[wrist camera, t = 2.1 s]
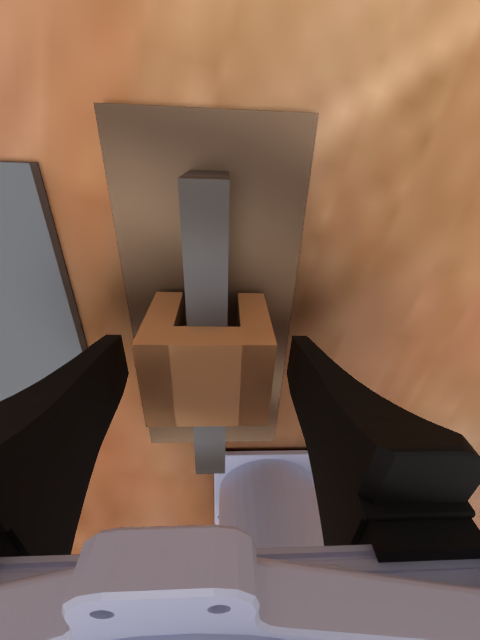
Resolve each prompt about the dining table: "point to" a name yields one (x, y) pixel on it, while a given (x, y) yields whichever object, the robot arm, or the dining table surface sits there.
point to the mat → (32, 285)
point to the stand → (209, 224)
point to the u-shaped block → (205, 365)
